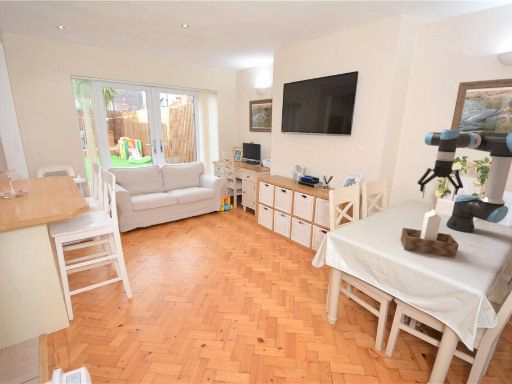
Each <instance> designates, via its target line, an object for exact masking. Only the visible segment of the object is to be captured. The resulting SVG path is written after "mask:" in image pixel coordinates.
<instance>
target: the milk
mask: <svg viewBox="0 0 512 384" xmlns="http://www.w3.org/2000/svg"><path fill="white" fill-rule="evenodd" d="M441 222H442V217H440V216H439V215H438V214H437V211H435V210H434V209H433V208H432V209H431V211H428V212H425V213H424V216H423V223H422V227H421V230H422V231H421V236H420V238H422V239H429V240H435V241H436V239H437V235H438V233H439V229H440V226H441Z"/></svg>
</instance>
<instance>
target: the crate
mask: <svg viewBox="0 0 512 384" xmlns="http://www.w3.org/2000/svg"><path fill="white" fill-rule="evenodd" d="M421 231H422V229H414V228H408V227H402V229H401V236H400V242H401V245H402V247H403V250H404V251H409V252H416V253H421V254H427V255H433V256H439V257H445V258H452V259H456V258H457V253H458V249H459V246H460V245H459V243H458V242H457V241H456V240H455V238H454V237H453V236H452V235H451V234H450V233H443V232H438V235H437V239H436V241H435V240H429V239H422V238H420V236H421Z"/></svg>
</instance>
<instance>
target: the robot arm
mask: <svg viewBox="0 0 512 384" xmlns="http://www.w3.org/2000/svg"><path fill="white" fill-rule="evenodd" d="M424 143H425V145H426V146H431V147H433V146H434V147H438V150H437V155H436V157H435V158H436V160H435V162H434V167H433V168H431V167H427V168H426V170H425V172H424V174H423V175H421V177H420V179H418V180H417V185H419V186H420V187H419V188H420V189H419V191H420V192H421V195H420V198H422V199H424V197H425V193H426V192H425V191H426V187H427V186H426V185H427V184H428V183H431V181H432V180H433V179H435V178H443V179H445V178H447V179H448V181H449V182H450V183H451V185H452V186H453V187H452V189H451V192H450V193H451V194H450V198H449V199H450V201H452V202H453V201H454V203H453V209H452V212H451V216H450V217H449V218H448V220H447V222H446V227H447V228H450V229H451V230H453V231H458V232H463V233H473V232H475V222H474V219H475V218H476V219H479V220H483V221H486V222H488V223H492V224H498V223H501V222H502V221H503V220H504V219H505V218H506V216H507V214H508V212H509V208H508V206H507V205H505V203H506V202H505V200H504V193H505V189H506V187H507V181H508V177H509V173H510V170H511V166H512V132H491V131H490V132H476V133H475V132H472V133H468V132H463V133H461V131H460V130H459V129H443V130H442V131H441V132H437V131H436V132H435V131H433V132H432V131H431V132H427V134H426V135H425V137H424ZM457 149H468V150H469V149H470V150H474V151H475V150H476V151H479V152H486V153H489V157H490V158H491V162H490V167H489V171H488V175H487V179H486V185H485V189H484V194H483V196H481V197H479V196H476V195H469V194H461V195H460V194H459V195H458V191H459V190H460V189H463V188H464V184H463V182H462V179H461V177H460V170H458V169H453V166H454V160H455V156H456V151H457ZM432 172H433V173H432ZM431 173H432V174H431ZM430 174H431V175H430ZM451 174H453V175H454V178H455V179H456V182H457V183H456V182H455V180H454V179H453V178H452V176H451ZM429 175H430V176H429ZM427 177H428V178H427ZM456 195H457V196H456ZM455 196H456V197H455ZM454 199H455V200H454Z"/></svg>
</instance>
